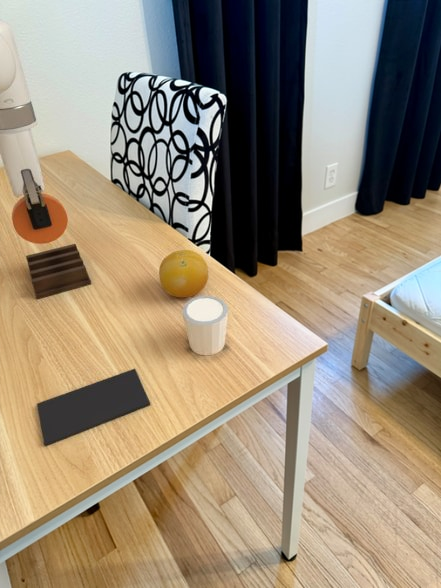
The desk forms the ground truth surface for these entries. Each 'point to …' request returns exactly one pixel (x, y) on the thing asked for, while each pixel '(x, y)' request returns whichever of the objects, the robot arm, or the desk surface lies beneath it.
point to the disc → (44, 234)
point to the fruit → (183, 273)
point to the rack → (57, 271)
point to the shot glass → (206, 324)
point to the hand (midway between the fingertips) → (41, 223)
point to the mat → (91, 406)
